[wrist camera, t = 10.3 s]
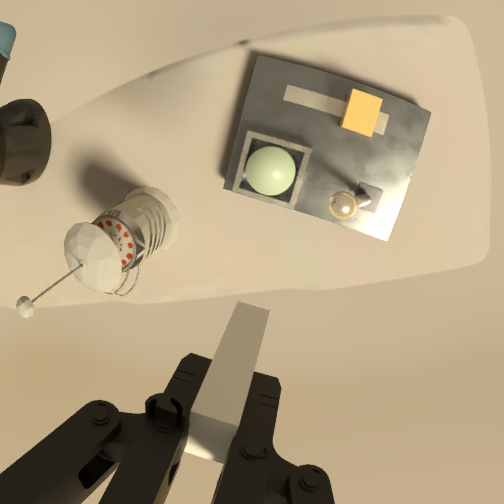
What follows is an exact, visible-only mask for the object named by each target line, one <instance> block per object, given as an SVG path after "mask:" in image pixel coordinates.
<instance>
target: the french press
mask: <svg viewBox="0 0 504 504" xmlns="http://www.w3.org/2000/svg"><path fill="white" fill-rule="evenodd" d="M113 209H114V212H113V213H112V215H111V216H110V214H111V212H112V211H113ZM110 210H111V211H110ZM116 210H118V211H117V212H116ZM109 211H110V212H109ZM119 211H120V214H119V217H118V218H116V217H117V215H118V213H119ZM108 212H109V214H108V215H106V214H107V213H108ZM115 212H116V214H115V217H113V215H114V213H115ZM179 227H180V219H179V215H178V211H177V208H176V207H175V205H174V204H173V202H172V201H171V199H170V198H169V196H167V195H166V194H164V193H163V192H162V191H160V190H159V189H157V188H152V187H147V186H144V187H140V188H136V189H134V190H132V191H131V192H130V193H129V194H128V195H127V196H125V199H124V201H123V203H121V204H119V205H117V206H115V207H113V208H111V209H109V210H107V211H105V212H104V213H102V214H101V215H100V216H99V217H98V218H97V219H96V220H94V221H93V222H92V223H91V224H90V223H87V222H84V223H78V224H75V225H74V226H73V227H72V228H71V229H70V230H69V231H68V232H67V235H66V238H65V241H64V249H65V257H66V260H67V263H68V266H69V268H70V270H71V272H70V273H68V274H67V275H65V276H64V277H63V278H61V279H60V280H59V281H57V282H56V283H54V284H53V285H52V286H50V287H49V288H48V289H46V290H45V291H44V292H42V293H41V294H40V295H38V296H37V297H36V298H34V299H33V300H32V301H31V300H30V299H29V298H28V297H26V296H22V297H21V298H20V299H19V300H18V301H17V306H16V308H17V310H18V313H19V314H20V315H21V316H22V317H25V318H29V317H31V316H32V315H33V314H35V307H34V305H33V302H34V301H36V300H37V299H38V298H40V297H41V296H42V295H44V294H45V293H46V292H47V291H49V290H50V289H51V288H53V287H54V286H55V285H57V284H58V283H60V282H61V281H62V280H64V279H65V278H66V277H68V276H69V275H70V274H72V273H73V274H74V276H75V277H76V279H77V280H78V281H79V282H81V283H82V284H83V285H84V286H85V287H86V288H88V289H90V290H93V291H95V292H103V293H104V294H106V295H115V296H117V297H125V296H127V295H128V294H129V293H130V292H131V291H132V290H133V288H134V286H135V284H136V283H137V281H138V278H139V274H140V266H141V262H142V261H144V260H145V259H146V258H147V257H148V256H149V255H150V254H152V253H155V252H163V251H165V250H166V249H168V248H169V247H171V246H172V245H173V244H174V242H175V240H176V239H177V237H178V235H179ZM143 250H144V251H145V252H144V254H143V255H142V256H140V257H139V258H138V259H137V260H136V258H137V255H138V254H139V253H140V252H141V251H143ZM135 260H136V261H135ZM137 265H139V266H138V273H137V278H136V281H135V283H134V285H133V286H132V288H131V289H130V290H129V291H128V292H127V293H126V294H124V295H118V294H116V293H117V292H118V291H119V290H121V289H122V287H123V285H124V283H125V281H126V280H127V277H128V274H129V269H133V268H134V267H136V266H137ZM126 271H127V275H126V278H125V280H124V282H123V284H122V285H121V287H120V288H119V289H118V290H116V291H115V292H114V291H113V288H115V287H116V286H117V285H118V282H119V280H120V278H121V276H122V272H126ZM110 290H111V291H112V293H107V292H109V291H110Z"/></svg>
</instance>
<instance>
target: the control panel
mask: <svg viewBox="0 0 504 504" xmlns="http://www.w3.org/2000/svg"><path fill="white" fill-rule="evenodd" d="M352 89H356V90H359V91H362V92H365V93H367V94H370V95H373V96H375V97H378V98H381V99H383V100H382V104H381V107H380V111H379V114H378V117H377V121H376V124H375V127H374V131H373V134H372V137H368V136H364V135H362V134H359V133H356V132H353V131H350V130H347V129H344V128H341V127H339V125H340V122H341V118H342V115H343V111H344V108H345V104H346V101H347V98H348V94H349V92H350V91H351V90H352ZM430 115H431V112H430V111H428V110H426V109H423V108H421V107H419V106H417V105H414V104H412V103H410V102H407V101H405V100H403V99H400V98H398V97H395V96H393V95H390V94H388V93H385V92H383V91H380V90H378V89H375V88H372V87H369V86H367V85H364V84H361V83H358V82H355V81H352V80H349V79H346V78H343V77H340V76H337V75H334V74H330V73H327V72H324V71H320V70H317V69H313V68H310V67H306V66H302V65H299V64H295V63H291V62H287V61H283V60H278V59H274V58H269V57H265V56H260V55H258V56H257V59H256V63H255V67H254V70H253V74H252V77H251V81H250V85H249V88H248V92H247V96H246V100H245V103H244V107H243V111H242V115H241V119H240V122H239V126H238V130H237V134H236V138H235V142H234V146H233V150H232V154H231V158H230V162H229V166H228V170H227V174H226V179H225V183H224V187H223V189H227V190H230V191H232V192H235V193H238V194H241V195H245V196H248V197H252V198H255V199H258V200H262V201H265V202H268V203H271V204H275V205H278V206H281V207H284V208H288V209H291V210H296V211H299V212H303V213H306V214H309V215H312V216H315V217H318V218H321V219H324V220H327V221H330V222H333V223H336V224H339V225H342V226H345V227H348V228H351V229H354V230H357V231H360V232H363V233H366V234H369V235H371V236H374V237H377V238H380V239H383V240H386V241H387V239H388V237H389V234H390V232H391V229H392V227H393V224H394V222H395V219H396V217H397V214H398V211H399V209H400V206H401V204H402V201H403V198H404V195H405V193H406V190H407V187H408V184H409V182H410V179H411V176H412V173H413V170H414V167H415V164H416V161H417V158H418V155H419V152H420V149H421V145H422V142H423V139H424V136H425V132H426V129H427V126H428V122H429V119H430ZM270 145H277V146H281V147H283V148H285V149H287V150H288V151H289V152H290V153H291V154H292V155H293V157H294V159H295V162H296V174H295V177H294V179H293V182H292V184H291V185H290V187H289V188H288V189H287V190H285V191H284V192H282V193H280V194H277V195H264V194H261V193H259V192H257V191H256V190H255V189H254V188H252V186H251V185H250V184H249V182H248V180H247V177H246V164H247V161H248V159H249V158H250V156H251V155H252V154H253V153H254V152H255V151H257V150H259V149H261V148H263V147H266V146H270ZM340 191H345V192H348V193H350V194H351V195H352V196H355V195H361V194H368V195H370V197H371V202H370V203H369V204H368V205H364V206H361V207H358V208H356V210H355V212H354V214H353V215H352V216H351V217H349V218H346V219H339V218H337V217H335V216H334V215H333V214H332V213H331V211H330V209H329V201H330V198H331V197H332V196H333V195H334V194H335V193H337V192H340Z"/></svg>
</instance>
